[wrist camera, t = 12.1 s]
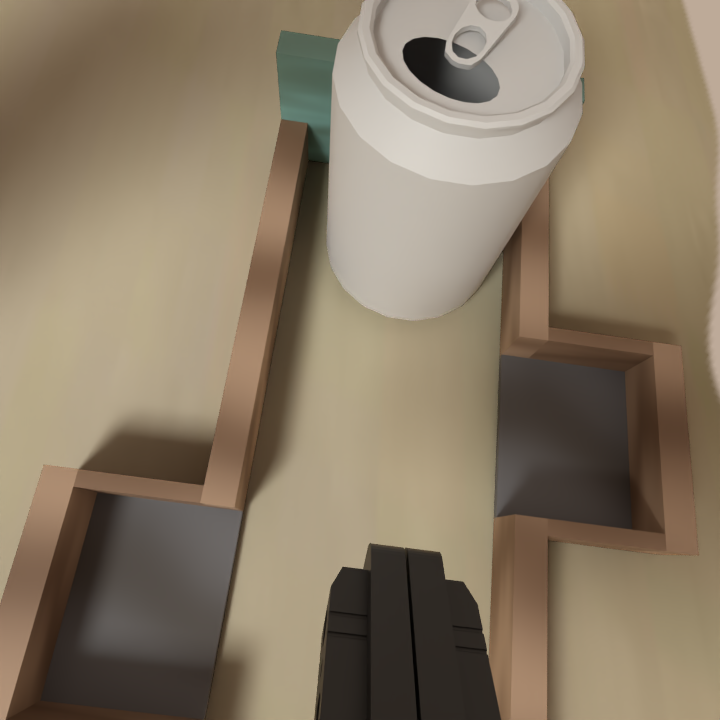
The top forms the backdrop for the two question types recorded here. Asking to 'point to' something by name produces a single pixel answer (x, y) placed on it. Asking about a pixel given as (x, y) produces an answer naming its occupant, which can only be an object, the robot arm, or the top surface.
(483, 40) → the can
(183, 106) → the top surface
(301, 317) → the top surface
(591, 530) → the trap channel
